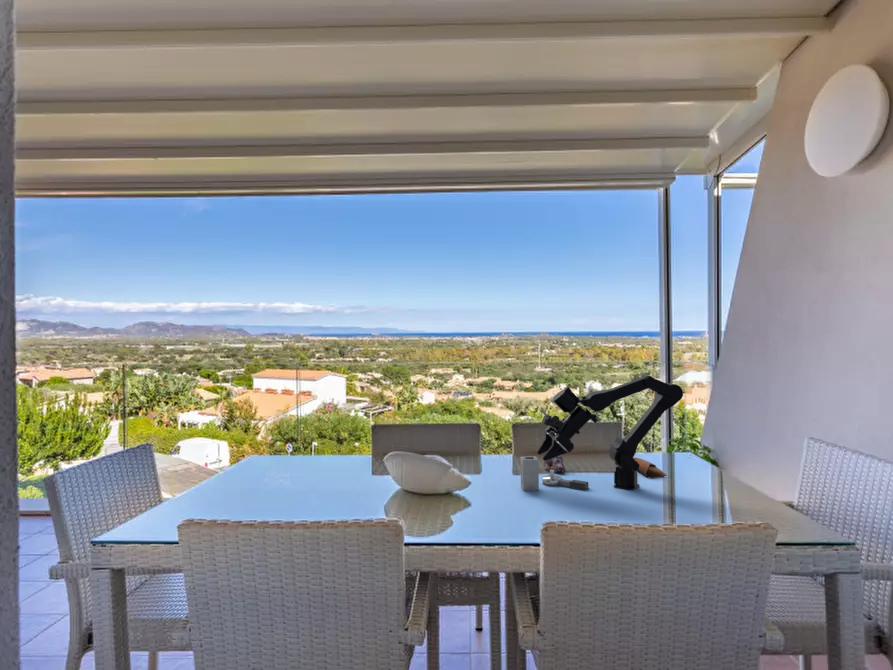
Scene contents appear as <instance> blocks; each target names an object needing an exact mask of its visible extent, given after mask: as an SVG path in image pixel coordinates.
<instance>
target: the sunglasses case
mask: <svg viewBox="0 0 893 670" xmlns="http://www.w3.org/2000/svg"><path fill="white" fill-rule="evenodd" d="M633 459H634V460H635V461H636V462H637V463H638V464H639V465H640V466H639V468H638V471H639V472H640V473H641V474H642V475H643V476H646V477H647V478H648V477H661V478H665V477H664V476H668V475H667V474H666V473H665V472H664V471H663V470H661V469H660V468H659V467H657V465H656V464H654V463H652V462H650V461H647V460H646V459H643V458H639V457H633ZM638 471H637V472H638Z"/></svg>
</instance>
